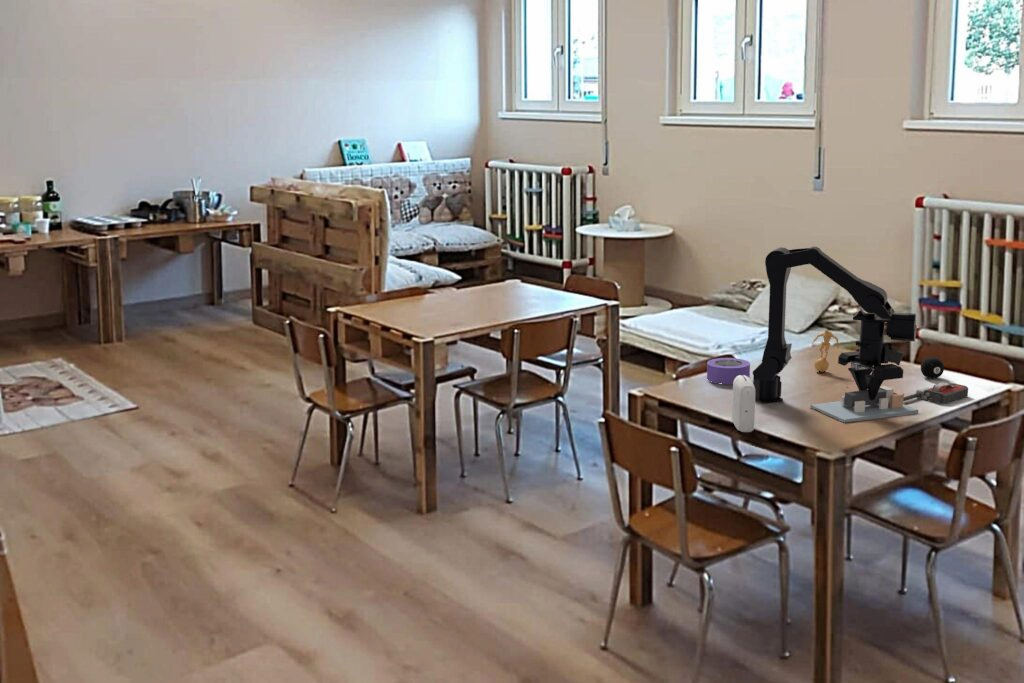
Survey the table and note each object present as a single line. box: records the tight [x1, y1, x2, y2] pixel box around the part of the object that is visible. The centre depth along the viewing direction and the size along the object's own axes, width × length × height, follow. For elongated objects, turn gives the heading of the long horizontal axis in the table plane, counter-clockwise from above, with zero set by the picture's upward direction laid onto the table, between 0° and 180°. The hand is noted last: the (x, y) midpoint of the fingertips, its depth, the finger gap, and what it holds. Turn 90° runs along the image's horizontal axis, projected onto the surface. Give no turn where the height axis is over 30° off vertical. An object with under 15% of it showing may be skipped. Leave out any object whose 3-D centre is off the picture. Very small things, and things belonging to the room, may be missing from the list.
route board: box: [809, 395, 919, 424], centre depth 285 cm, size 22×14×3 cm, turn 110°
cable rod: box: [844, 385, 894, 407], centre depth 286 cm, size 12×3×3 cm, turn 110°
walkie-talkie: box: [903, 381, 969, 405], centre depth 295 cm, size 9×4×20 cm
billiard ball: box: [920, 356, 945, 380], centre depth 315 cm, size 6×6×6 cm
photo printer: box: [731, 375, 756, 433], centre depth 273 cm, size 10×4×12 cm, turn 179°
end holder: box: [890, 390, 905, 408], centre depth 288 cm, size 3×7×3 cm, turn 20°
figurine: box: [811, 329, 839, 373], centre depth 323 cm, size 8×6×12 cm
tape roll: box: [706, 357, 751, 385], centre depth 316 cm, size 12×12×5 cm
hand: (867, 398), depth 286 cm, fingers closed on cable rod, 3 cm apart
